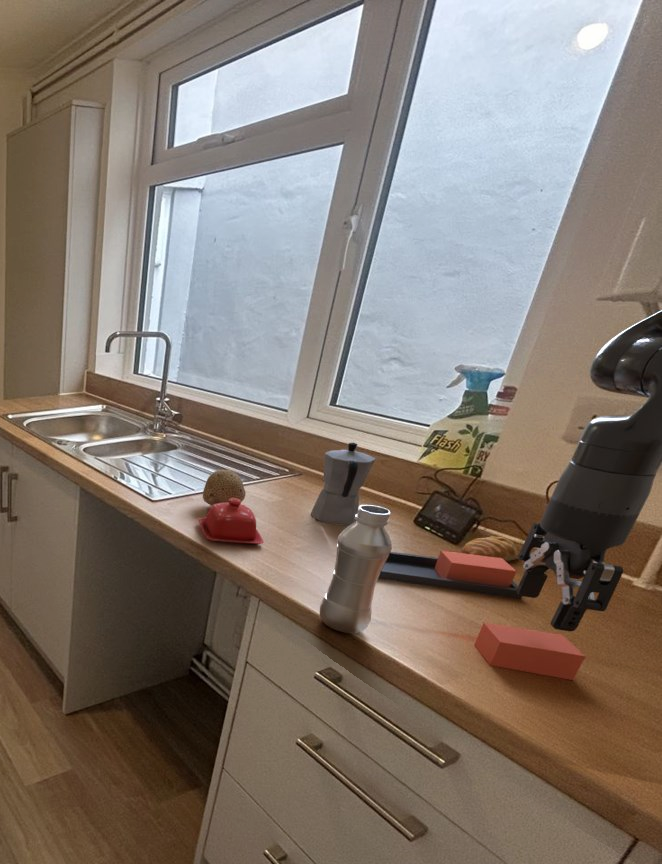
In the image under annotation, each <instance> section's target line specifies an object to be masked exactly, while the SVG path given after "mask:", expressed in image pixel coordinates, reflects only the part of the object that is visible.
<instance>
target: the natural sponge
mask: <svg viewBox="0 0 662 864" xmlns="http://www.w3.org/2000/svg"><path fill="white" fill-rule="evenodd" d="M245 489H246V488H245V486H244V482H243V480H242V478H241V477H240V475H239V474H238V473H237V472H235V471H234V470H231V469H218V470H215V471H213V472H212V473H211V474H210V475H209V476H208V477H207V480H206V482H205V484H204V487H203V490H202V500H203V501H204V502H205V503H206V504H208V505H209V506H210V507H211V506H212V505H214V504H217V503H229V502H228V500H229V499H231V498H237V499H239V500H240V501H241V503H242V502H243V501H244V500H245V497H246V493H247V492H246V490H245Z"/></svg>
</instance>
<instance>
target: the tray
mask: <svg viewBox="0 0 662 864" xmlns="http://www.w3.org/2000/svg"><path fill="white" fill-rule="evenodd" d="M437 560H438V557H435V556H426V555H420V554H412V553H404V552H398V551H397V552H396V551H391V552H390V554H389V556H388V558H387V560H386V562H385V564H384V566H383V568H382V570H381V572H380V575H379V577H378V580H385V581H386V580H387V581H391V582H400V583H406V584H413V585H418V586H419V585H421V586H427V587H433V588H440V589H441V588H442V589H447V590H453V591H460V592H461V591H462V592H467V593H474V594H482V595H488V596H495V597H501V598H502V597H503V598H509V599H514V600H515V599H516V600H521V599H522V598H523V596H520V595H519V594H518V593H517V592H516V590H517V588H518V586H519V584H517V583H516V582H515V581H514V580H513V581H512V583H511V586H510V588H509V587H502V586H495V585H488V584H481V583H474V582H467V581H459V580H452V579H445V578H441V577H440V576H439V575H438V573H437V572H436V571H435V570H434V568H435V566H436V563H437Z"/></svg>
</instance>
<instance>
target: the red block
mask: <svg viewBox="0 0 662 864" xmlns="http://www.w3.org/2000/svg"><path fill="white" fill-rule="evenodd" d="M437 558H438V560H437V563H436V566H435V568H434V570H435V571H436V572H437V573H438V575H439V576H440V577H441V578H445V579H452V580H459V581H467V582H474V583H481V584H488V585H495V586H502V587H509V588H510V586H511V583H512V581H514V579H515V576H516V574H517V573H518V572H517V570H516V569H515V568H514V567H512V566H511V564H510V563H508V561H505V560H504V559H502V558H496V557H488V556H480V555H472V554H464V553H461V552H455V551H447V550H440V552H439V554H438V557H437Z"/></svg>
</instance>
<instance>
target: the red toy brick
mask: <svg viewBox="0 0 662 864" xmlns="http://www.w3.org/2000/svg"><path fill="white" fill-rule="evenodd" d="M474 647H476V649H477V651H478V652H479V653H480V654H481V655H482V657H483V658H484V659H485V660H486V662H487V663H488V665H489V666H491V667H498V668H502V669H508V670H513V671H514V670H515V671H520V672H526V673H531V674H537V675H542V676H547V677H552V678H558V679H564V680H569V681H574V679H575V677H576V675H577V674H578V672H579V669H580V668H581V666H582V664H583V662H584V660H585V658H586V656H585V654H584V653H582V651H580V650H579V648H577V646H575V644H573V643H572V642H571V640H569V639H568V638H567V637H566V636H565V635H564V634H559V633H552V632H547V631H541V630H533V629H529V628H521V627H515V626H508V625H503V624H495V623H491V622H483V623H482V625H481V628H480V630H479V632H478V635H477V637H476V640H475V642H474Z"/></svg>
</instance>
